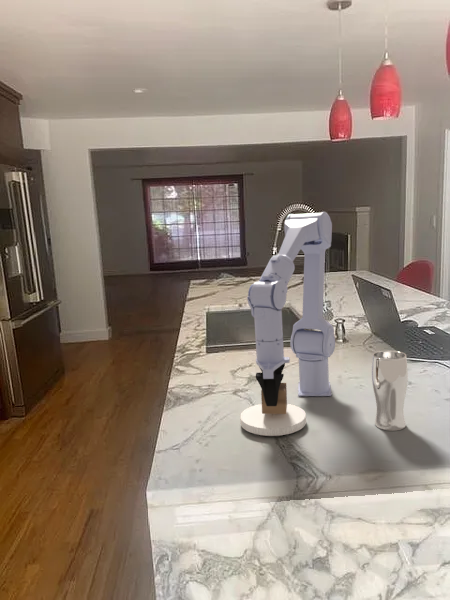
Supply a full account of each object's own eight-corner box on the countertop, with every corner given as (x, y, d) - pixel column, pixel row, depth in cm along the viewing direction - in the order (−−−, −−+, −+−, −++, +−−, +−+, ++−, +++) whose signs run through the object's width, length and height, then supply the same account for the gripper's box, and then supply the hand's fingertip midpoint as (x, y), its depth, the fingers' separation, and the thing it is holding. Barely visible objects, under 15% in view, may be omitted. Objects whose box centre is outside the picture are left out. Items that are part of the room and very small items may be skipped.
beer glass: (400, 416, 106) (399, 348, 104) (413, 430, 99) (413, 358, 97) (368, 419, 106) (366, 351, 104) (379, 433, 99) (377, 360, 97)
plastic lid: (227, 427, 108) (226, 416, 107) (273, 408, 116) (272, 397, 116) (273, 447, 97) (273, 435, 97) (320, 424, 106) (319, 413, 105)
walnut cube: (263, 404, 109) (263, 382, 108) (287, 404, 108) (286, 382, 107) (262, 413, 104) (261, 390, 103) (286, 413, 103) (285, 391, 102)
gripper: (287, 347, 96) (290, 413, 98) (289, 329, 110) (292, 388, 112) (250, 348, 97) (254, 413, 99) (257, 330, 111) (261, 388, 113)
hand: (272, 400), depth 106 cm, fingers closed on walnut cube, 5 cm apart
